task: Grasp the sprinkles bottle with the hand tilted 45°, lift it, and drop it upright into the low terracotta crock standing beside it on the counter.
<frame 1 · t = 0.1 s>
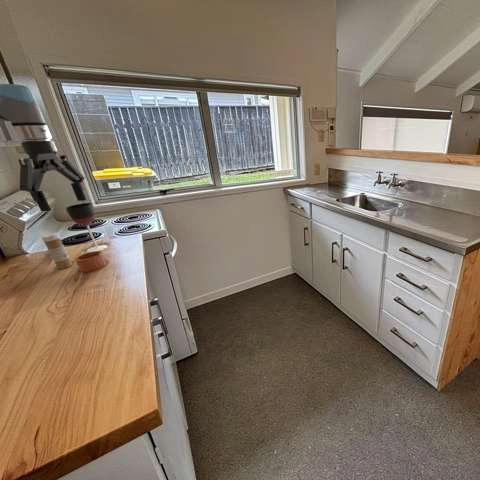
hand: (65, 205, 90), 24 cm above the countertop, tool pointing down, fingers open, 13 cm apart
crock: (93, 267, 98), on the countertop
sprinkles bottle: (65, 267, 100), on the countertop
wineglass: (97, 249, 116), on the countertop
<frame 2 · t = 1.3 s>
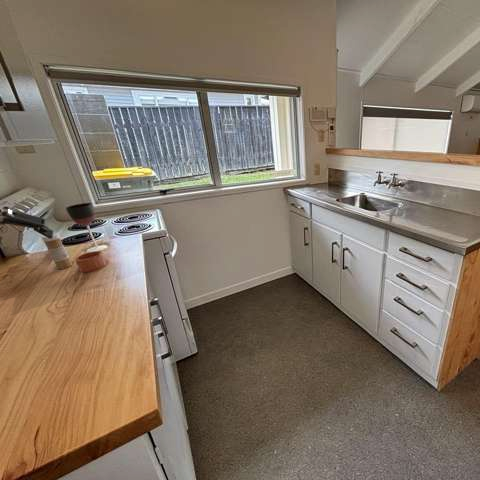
hand: (26, 237, 85), 16 cm above the countertop, tool tilted 45°, fingers open, 13 cm apart
nothing on the countertop moved.
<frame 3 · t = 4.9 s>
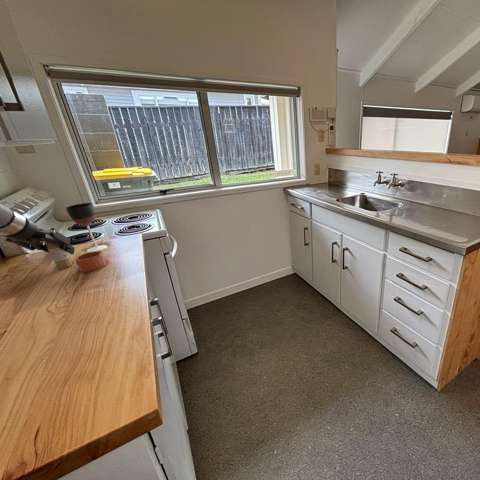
hand: (65, 251, 102), 5 cm above the countertop, tool tilted 45°, fingers closed on sprinkles bottle, 4 cm apart
sprinkles bottle: (65, 267, 100), on the countertop, touching gripper
everything else where it was.
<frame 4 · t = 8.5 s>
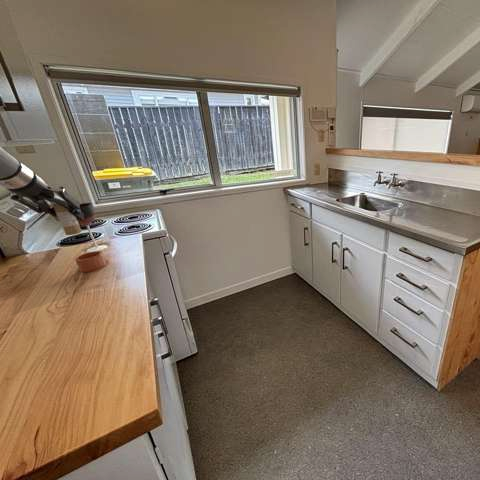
hand: (74, 218, 95), 19 cm above the countertop, tool tilted 45°, fingers closed on sprinkles bottle, 4 cm apart
sprinkles bottle: (74, 233, 93), point 14 cm above the countertop, touching gripper
everything else where it was.
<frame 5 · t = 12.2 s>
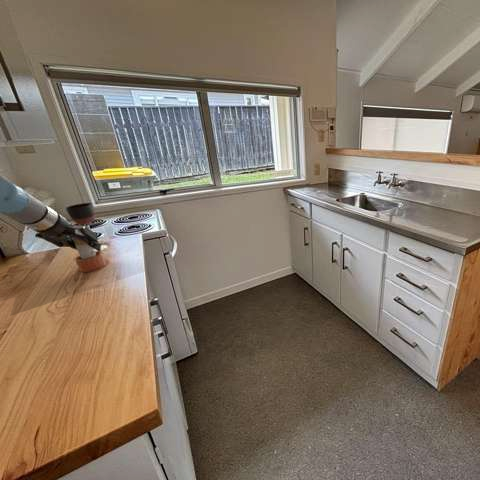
hand: (92, 248, 99), 6 cm above the countertop, tool tilted 45°, fingers closed on sprinkles bottle, 4 cm apart
sprinkles bottle: (92, 264, 98), point 1 cm above the countertop, touching gripper
everything else where it was.
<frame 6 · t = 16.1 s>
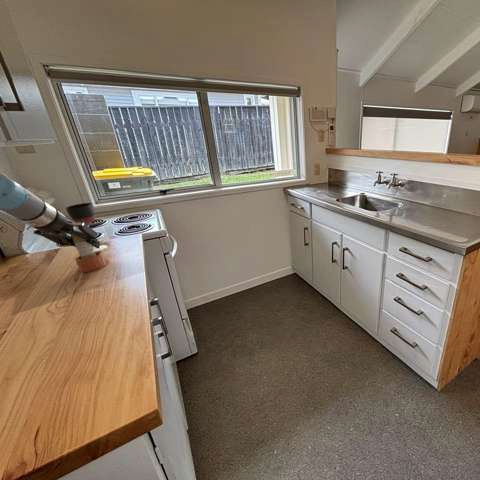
hand: (90, 246, 99), 7 cm above the countertop, tool tilted 45°, fingers closed on sprinkles bottle, 4 cm apart
sprinkles bottle: (91, 261, 97), point 2 cm above the countertop, touching gripper
everything else where it was.
when the fingers open (9 cm above the countertop, at t = 19.7 s): sprinkles bottle drops 3 cm, resting on crock.
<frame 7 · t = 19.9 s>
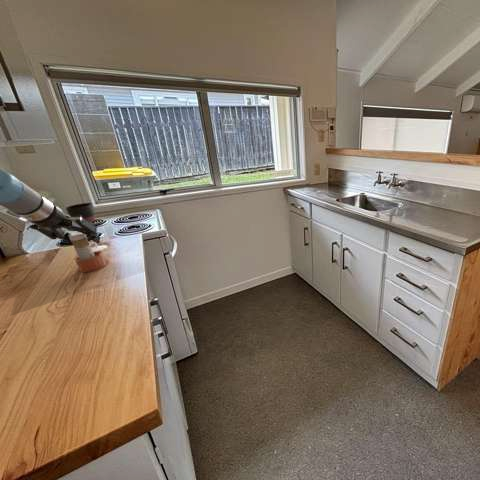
hand: (88, 241, 98), 9 cm above the countertop, tool tilted 45°, fingers open, 6 cm apart
sprinkles bottle: (91, 266, 98), resting on crock, touching gripper
everything else where it was.
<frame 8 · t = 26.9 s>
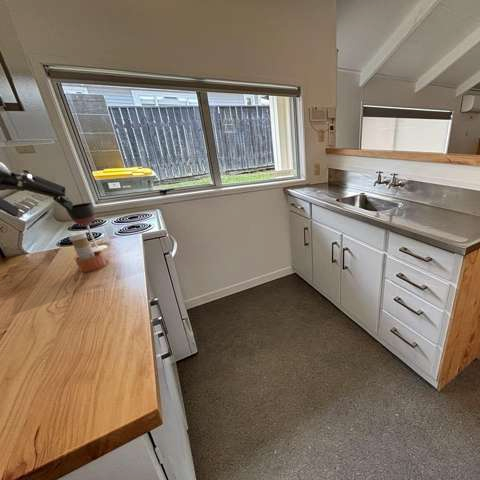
hand: (44, 209, 79), 26 cm above the countertop, tool tilted 45°, fingers open, 13 cm apart
sprinkles bottle: (91, 266, 98), resting on crock
everything else where it was.
at the end: sprinkles bottle 0.6 cm off-centre in the crock, point 0.4 cm above the crock's base; sprinkles bottle tilted 0°; the gripper is holding nothing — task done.
